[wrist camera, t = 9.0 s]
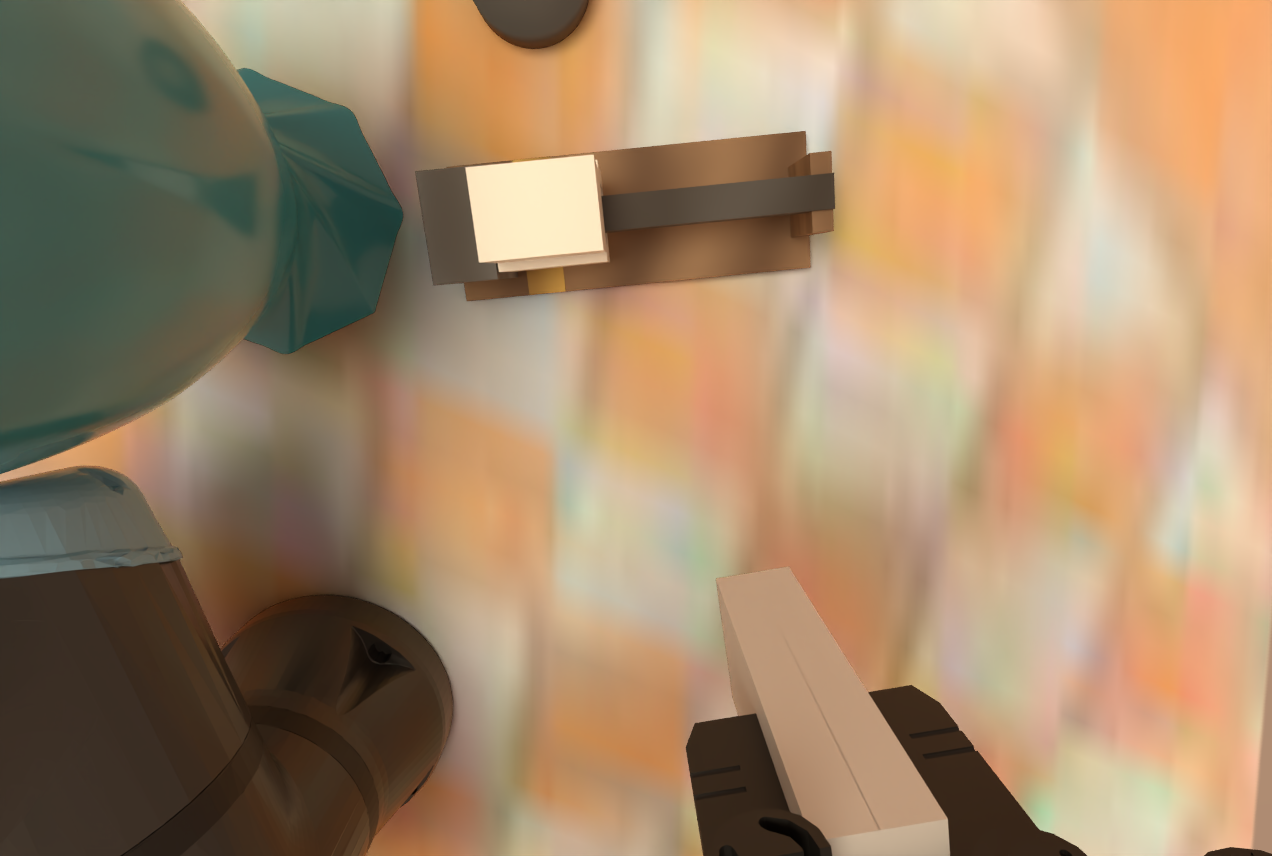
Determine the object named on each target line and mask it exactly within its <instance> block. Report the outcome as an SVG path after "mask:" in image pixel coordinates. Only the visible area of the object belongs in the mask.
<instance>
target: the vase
mask: <svg viewBox="0 0 1272 856" xmlns="http://www.w3.org/2000/svg"><path fill="white" fill-rule="evenodd" d="M402 219H403V212H402V209H401V206H400V204H399V203H398V201H397V199H396V198H395V196H394V195H393V193H392V191H391V189H390V187H389V185H388V183H387V181H386V179H385V177H384V175H383V173H382V171H381V169H380V167H379V165H378V163H377V161H376V159H375V157H374V155H373V153H372V151H371V149H370V147H369V146H368V144H367V142H366V140H365V138H364V136H363V134H362V132H361V130H360V127H359V124H358V122H357V119H356V117H355V115H354V114H353V113H352V111H350V110H349V109H348V108H346V107H344V106H341V105H338V104H334V103H331V102H328V101H325V100H322V99H320V98H318V97H315V96H313V95H311V94H308V93H305V92H303V91H300V90H298V89H295V88H293V87H290V86H288V85H285V84H283V83H280V82H277V81H275V80H272V79H269V78H267V77H265V76H263V75H261V74H259V73H257V72H255V71H253V70H251V69H247V68H243V69H239V70H236V69H235V67H234V66H233V64H232V63H231V62H230V60H229V59H228V57H227V56H226V55H225V53H224V52H223V50H222V49H221V48H220V46H219V45H218V44H217V43H216V41H215V40H214V39H213V37H212V36H211V35H210V34H209V32H208V31H207V30H206V29H205V27H204V26H203V25H202V24H201V23H200V21H199V20H198V19H197V18H196V17H195V16H194V14H193V13H192V12H191V11H190V10H189V9H188V8H187V7H186V5H185V4H184V3H183V2H182V1H181V0H0V474H2V473H5V472H8V471H11V470H14V469H17V468H20V467H23V466H26V465H29V464H32V463H35V462H37V461H40V460H43V459H46V458H48V457H51V456H54V455H57V454H59V453H62V452H64V451H67V450H70V449H72V448H75V447H77V446H79V445H82V444H84V443H87V442H89V441H91V440H94V439H96V438H98V437H101V436H103V435H105V434H107V433H109V432H111V431H114V430H116V429H118V428H120V427H122V426H124V425H126V424H128V423H130V422H132V421H134V420H136V419H138V418H140V417H142V416H144V415H145V414H147V413H149V412H151V411H153V410H155V409H156V408H158V407H160V406H161V405H163V404H165V403H166V402H168V401H170V400H171V399H173V398H174V397H176V396H177V395H179V394H180V393H182V392H183V391H184V390H186V389H187V388H189V387H190V386H191V385H193V384H194V383H195V382H196V381H198V380H199V379H200V378H201V377H203V376H204V375H205V374H206V373H207V372H208V371H210V370H211V369H212V368H213V367H214V366H215V365H217V364H218V363H219V362H220V361H221V360H222V359H223V358H224V357H225V356H226V355H228V354H229V353H230V352H231V351H232V350H233V349H234V348H235V347H236V346H237V345H238V344H239V343H240V342H241V341H242V339H246V340H248V341H251V342H254V343H257V344H260V345H263V346H266V347H268V348H270V349H272V350H274V351H276V352H279V353H282V354H289V353H292V352H294V351H296V350H298V349H299V348H301V347H303V346H304V345H306V344H308V343H310V342H313V341H315V340H317V339H319V338H322V337H324V336H326V335H328V334H330V333H332V332H334V331H336V330H338V329H340V328H343V327H345V326H347V325H349V324H351V323H353V322H355V321H358V320H360V319H362V318H364V317H366V316H368V315H370V314H373V313H374V312H375V309H376V305H377V302H378V298H379V295H380V291H381V288H382V284H383V281H384V277H385V274H386V270H387V267H388V263H389V260H390V257H391V253H392V250H393V246H394V242H395V238H396V235H397V232H398V230H399V228H400V225H401V223H402Z"/></svg>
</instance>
